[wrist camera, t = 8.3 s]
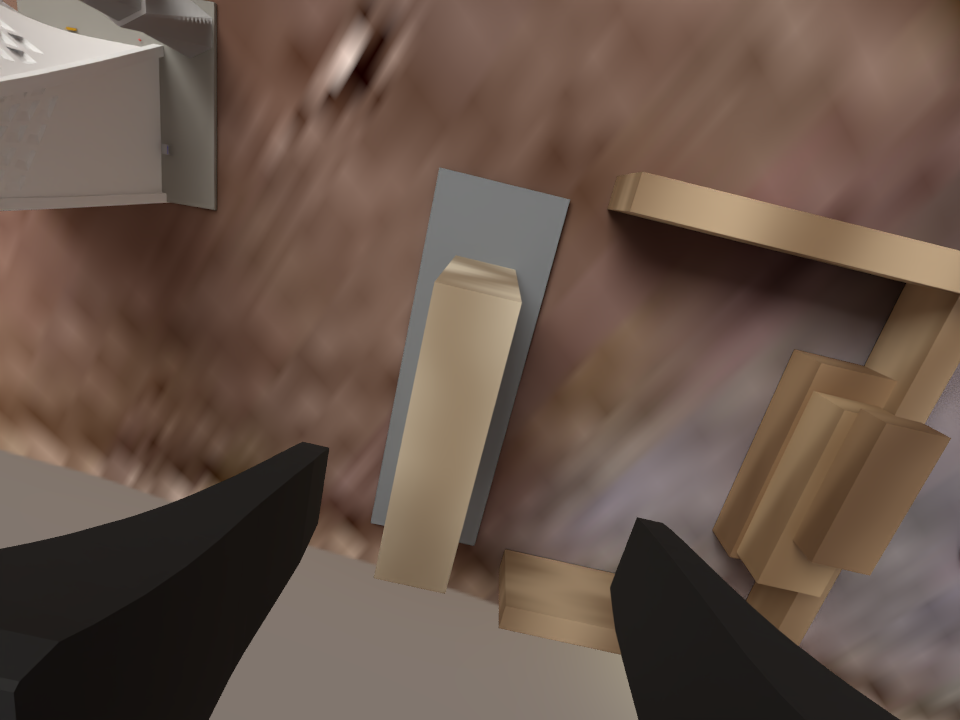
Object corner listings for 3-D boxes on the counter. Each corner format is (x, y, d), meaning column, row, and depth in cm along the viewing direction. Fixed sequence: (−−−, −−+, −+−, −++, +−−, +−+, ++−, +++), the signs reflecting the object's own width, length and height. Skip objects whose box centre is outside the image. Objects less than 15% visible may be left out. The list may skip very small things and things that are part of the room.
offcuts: (864, 366, 20) (968, 414, 16) (774, 544, 23) (841, 628, 19) (794, 349, 20) (878, 392, 16) (712, 530, 23) (764, 611, 19)
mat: (569, 199, 19) (569, 199, 19) (474, 542, 24) (474, 545, 24) (440, 167, 19) (439, 167, 19) (372, 519, 24) (370, 522, 23)
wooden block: (515, 269, 20) (522, 302, 13) (460, 485, 23) (445, 593, 16) (455, 255, 20) (434, 281, 13) (408, 474, 23) (373, 578, 16)
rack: (951, 259, 19) (1046, 272, 16) (758, 626, 25) (798, 693, 21) (617, 176, 19) (642, 171, 15) (499, 569, 24) (498, 628, 21)
